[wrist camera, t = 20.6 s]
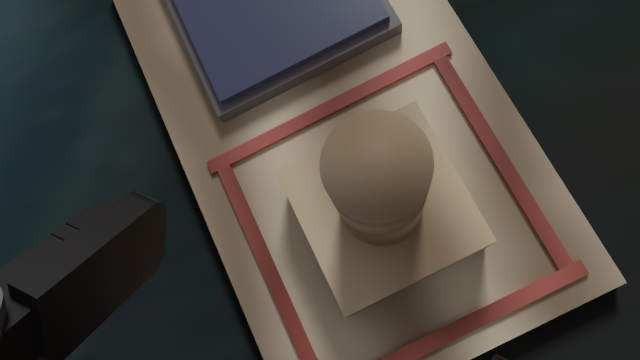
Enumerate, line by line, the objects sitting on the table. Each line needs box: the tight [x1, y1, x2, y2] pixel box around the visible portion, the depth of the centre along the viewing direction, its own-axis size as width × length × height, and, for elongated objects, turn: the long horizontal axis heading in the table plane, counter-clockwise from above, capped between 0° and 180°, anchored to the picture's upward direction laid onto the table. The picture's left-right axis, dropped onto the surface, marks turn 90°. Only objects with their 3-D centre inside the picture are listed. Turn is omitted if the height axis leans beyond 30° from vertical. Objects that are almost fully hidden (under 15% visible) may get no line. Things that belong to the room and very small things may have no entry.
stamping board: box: [113, 0, 627, 360], centre depth 24 cm, size 14×24×1 cm, turn 26°
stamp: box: [275, 101, 497, 317], centre depth 18 cm, size 6×6×8 cm
